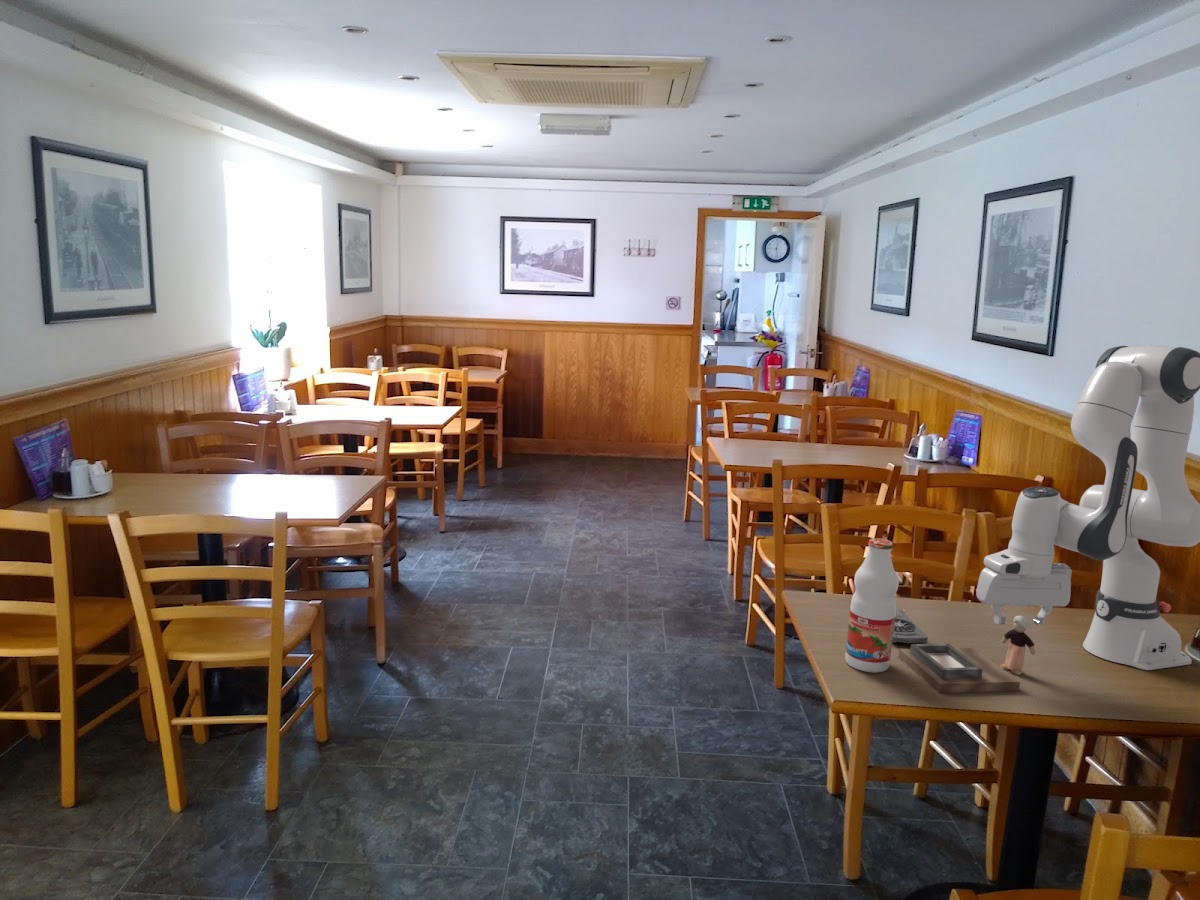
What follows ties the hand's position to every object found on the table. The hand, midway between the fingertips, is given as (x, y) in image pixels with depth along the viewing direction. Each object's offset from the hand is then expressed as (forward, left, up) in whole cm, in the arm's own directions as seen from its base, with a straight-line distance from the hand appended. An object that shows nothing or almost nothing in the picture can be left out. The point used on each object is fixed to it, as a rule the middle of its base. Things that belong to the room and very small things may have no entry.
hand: (1018, 623), depth 187 cm
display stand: (+13, 0, -11) cm, 17 cm away
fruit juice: (+31, -5, -11) cm, 34 cm away
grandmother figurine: (-1, 0, -11) cm, 11 cm away
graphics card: (+17, -22, -12) cm, 30 cm away
